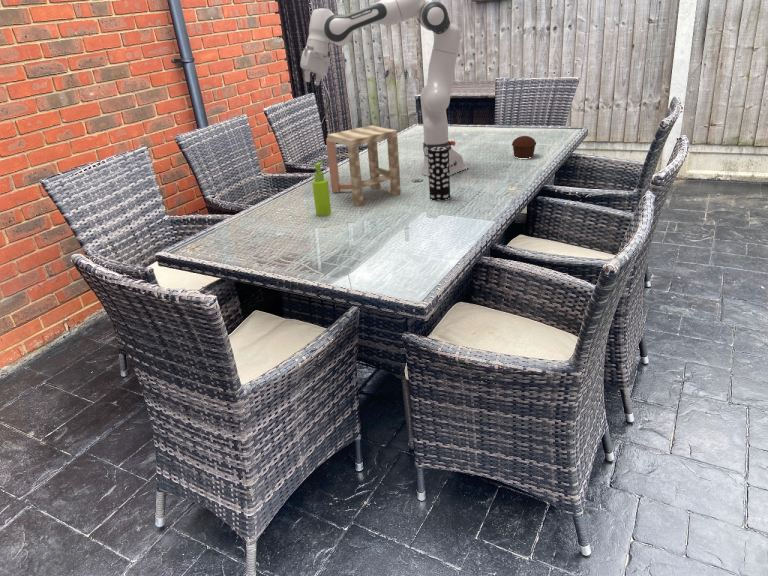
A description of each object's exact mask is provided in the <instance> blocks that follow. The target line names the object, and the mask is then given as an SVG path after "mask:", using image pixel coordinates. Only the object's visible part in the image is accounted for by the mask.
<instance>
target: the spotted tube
mask: <svg viewBox="0 0 768 576" xmlns="http://www.w3.org/2000/svg"><path fill="white" fill-rule="evenodd" d="M428 166H429V176H428V183H429V184H428V185H429V186H428V187H429V189H428V190H429V200H431V199H432V200H431V201H433V200H445V199H448V198H450V199H451V177H450V167H449V148H448V147H444V146H437V147H431V148H429V149H428ZM448 200H449V199H448ZM445 201H446V200H445Z"/></svg>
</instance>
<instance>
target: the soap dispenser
mask: <svg viewBox="0 0 768 576" xmlns="http://www.w3.org/2000/svg"><path fill="white" fill-rule="evenodd" d="M324 163H325V161H316V162H315V163H314V164H313V167H315V171H314V180H312V183H311V184H312V191H313V198H314V199H313V200H314V206H315V208H314V209H315V214H316V216H319V215H321V216H322V217H323V215H325V216H329V215H331V214H332V209H331V208H332V207H331V201H330V200H331V199H330V191H329V182H328V180H327V179H326V178H325V176H324V171H322V170H321V169H322V168H321V166H322V164H324ZM330 213H331V214H330ZM328 214H329V215H328ZM321 216H320V217H321Z"/></svg>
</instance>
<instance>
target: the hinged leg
mask: <svg viewBox="0 0 768 576" xmlns="http://www.w3.org/2000/svg"><path fill="white" fill-rule="evenodd" d="M325 143H326V150H327V159H328V160H327V161H328V168H329V169H328V170H329V176H330V177H329V178H330V185H331V187H330V188H331V193H340V191H341V190H352V185H351V183H340V174H339V166H338V164H339V163H338V155H337V148H336V143H335V142H331V141H328V137H326V139H325Z"/></svg>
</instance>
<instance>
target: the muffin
mask: <svg viewBox="0 0 768 576" xmlns="http://www.w3.org/2000/svg"><path fill="white" fill-rule="evenodd" d="M536 146H537V142H536V140H535V139H534V138H533V137H531V136H529V135H528V136H527V135H521V136H518V137H516V138H514V140H513V141H512V143H511V147H512V149H513V157H514V156H515V157H518V158H529V157H532V156H533V157H534V154H535V150H536V149H535V148H536ZM515 157H514V158H515Z"/></svg>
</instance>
